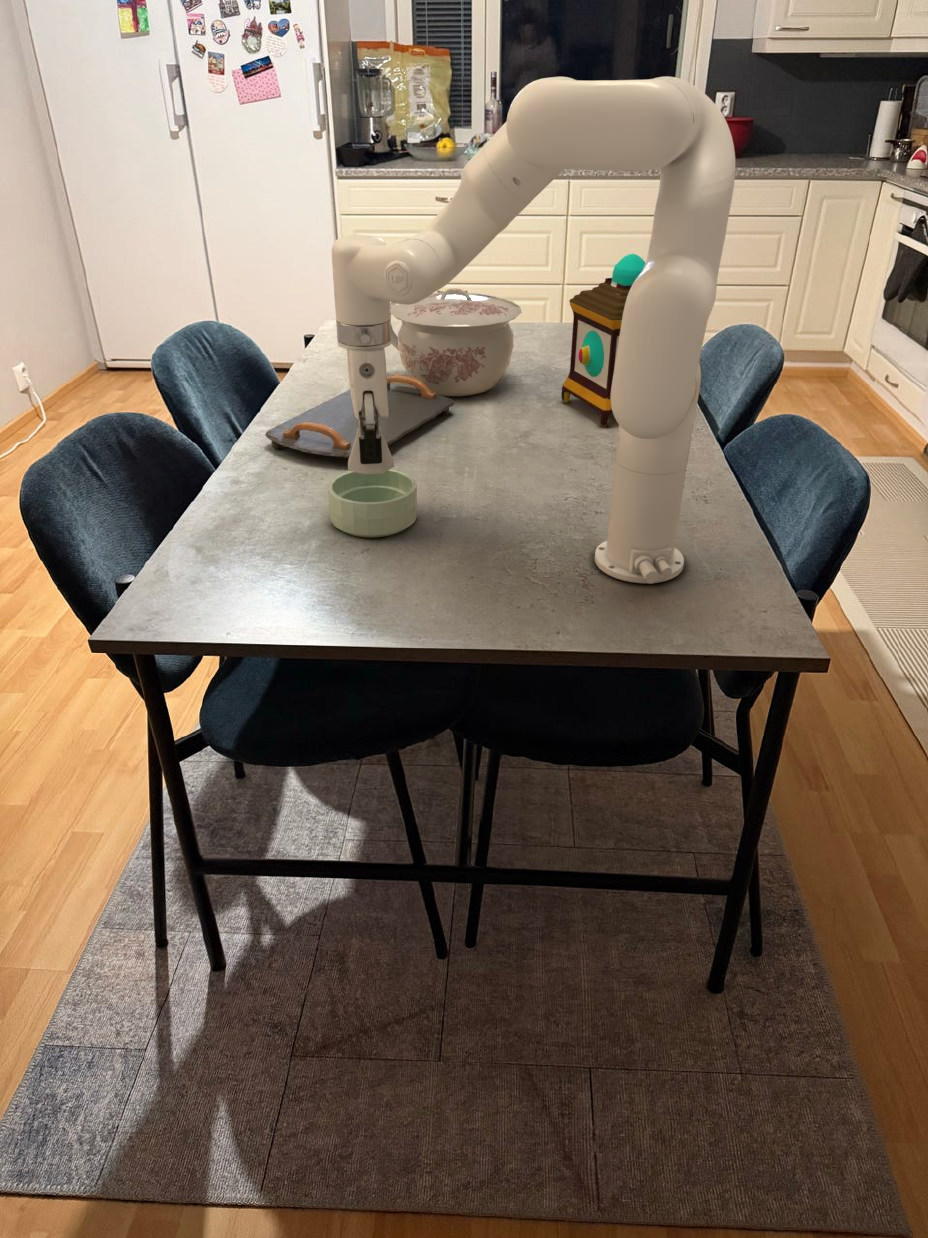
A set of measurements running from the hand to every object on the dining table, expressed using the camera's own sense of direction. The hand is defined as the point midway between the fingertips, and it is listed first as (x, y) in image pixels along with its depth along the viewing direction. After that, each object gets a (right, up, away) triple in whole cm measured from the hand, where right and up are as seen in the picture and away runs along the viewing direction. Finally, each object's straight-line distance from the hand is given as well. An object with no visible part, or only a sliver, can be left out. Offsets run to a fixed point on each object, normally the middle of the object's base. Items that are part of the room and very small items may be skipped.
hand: (370, 454), depth 135 cm
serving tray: (-5, +12, +39) cm, 41 cm away
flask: (0, -2, +1) cm, 2 cm away
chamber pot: (+12, +26, +62) cm, 68 cm away
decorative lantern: (+45, +18, +50) cm, 70 cm away
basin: (0, -9, +6) cm, 11 cm away
